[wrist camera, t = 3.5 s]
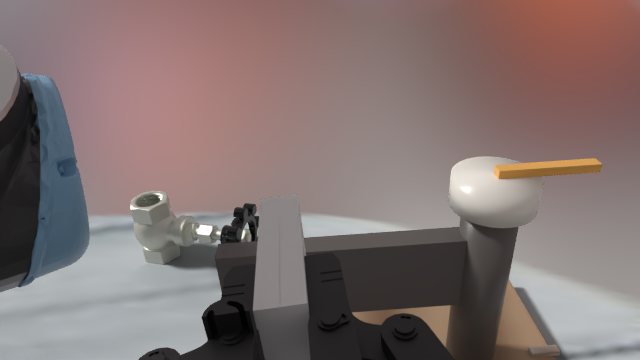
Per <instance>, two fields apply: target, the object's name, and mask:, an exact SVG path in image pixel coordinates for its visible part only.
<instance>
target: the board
mask: <svg viewBox="0 0 640 360" xmlns="http://www.w3.org/2000/svg"><path fill="white" fill-rule="evenodd" d="M400 313H406V314H413V315H415V316H418V317H420V318H421V319H422V320H424V321H425V322H426V323H427V324H428V326H429V327H430V328H431V330H432V331H433V332H434V333H435V335H436V336H437V337H438V338H439V340H440V341H441V342H442V344H443V345H444V346H445V347H446V338H447V330H448V321H449V313H450V305H448V306H434V307H420V308H407V309H393V310H379V311H365V312H352V314H353V315H354V316H355V317H356V318H358V319H359V320H361V321H363V322H366V323H371V324H378V325H382V323H383V322H384V321H385V320H386V318H388V317H390V316H392V315H395V314H400ZM560 352H561V351H560V350H559V348H558V346H557V345H547V343H546V342H545V340H544V338H543V336H542V335H541V333H540V331H539V330H538V328H537V326H536V325H535V323H534V321H533V320H532V318H531V316H530V314H529V313H528V311H527V309H526V308H525V306H524V304H523V303H522V301H521V299H520V298H519V296H518V294H517V292H516V291H515V289H514V287H513V286H512V284H511V282H510V281H509V279H508V284H507V289H506V294H505V299H504V304H503V310H502V315H501V320H500V325H499V330H498V335H497V341H496V346H495V351H494V356H493V360H556V359H555V357H554V356H557V355H560Z"/></svg>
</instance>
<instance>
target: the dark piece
mask: <svg viewBox="0 0 640 360" xmlns="http://www.w3.org/2000/svg"><path fill="white" fill-rule="evenodd" d="M601 167H602V164H601V163H600V162H599V161H598V160H596V159H595V158H593V159H578V160H563V161H550V162H534V163H521V162H519V161H515V160H512V159H507V158H501V157H489V156H488V157H487V156H486V157H474V158H469V159H466V160H463V161H460V162H459V163H457V164H456V165H455V166H454V167H453V168H452V170H451V179H450V190H449V199H448V202H449V205H450V207H451V209H452V210H453V211H454V212H455V213H456V214H457V215H458V216H460V217H461V219H460V227H452V228H438V229H424V230H410V231H395V232H381V233H367V234H353V235H338V236H324V237H310V238H304V242H305V249H306V256H308V255H315V254H323V253H330V252H332V253H333V254H334V255H335V256H336V257H337V258H338V259H339V260H340V264H341V269H342V273H343V279H344V283H345V288H346V293H347V298H348V302H349V307H350V310H351V312H365V311H379V310H393V309H407V308H420V307H434V306H448V305H450V313H449V321H448V330H447V338H446V349H447V350H448V351H449V353H450V354H451V355H452V356H453V358H454V359H455V360H493V356H494V351H495V346H496V341H497V335H498V330H499V325H500V320H501V315H502V310H503V304H504V299H505V294H506V289H507V284H508V278H509V273H510V268H511V263H512V258H513V252H514V247H515V242H516V237H517V232H518V227H519V226H522V225H525V224H527V223H529V222H531V221H532V220H533V219H534V218H535V217H536V215H537V212H538V207H539V203H540V198H541V193H542V189H543V179H542V176H553V175H567V174H582V173H596V172H600V170H601ZM257 242H258V241H253V242H239V243H224V244H218V248H217V252H216V257H215V261H216V266H217V271H218V276H219V280H220V285H221V290H223V284H224V278H225V276H226V274H227V273H228V272H229V270H230V269H231V268H232V267H234V266H241V265H248V264H256V257H257Z"/></svg>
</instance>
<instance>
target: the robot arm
mask: <svg viewBox="0 0 640 360" xmlns="http://www.w3.org/2000/svg"><path fill="white" fill-rule="evenodd" d="M76 162H77V160H76V156H75V152H74V145H73V141H72V136H71V132H70V128H69V124H68V120H67V116H66V113H65V109H64V106H63V103H62V99H61V96H60V93H59V91H58V88H57V86H56V84H55V82H54V81H53V80H52V79H51V78H50V77H48V76H44V75H33V74H30V73H29V74H28V73H26V74H24V75H20V72H19V70H18V67H17V65H16V63H15V61H14V59H13V58H12V57H11V55H10V54H9V52H8V51H7V50H6V49H5V48H4V46H2V45H1V44H0V292H2V291H5V290H9V289H12V288H15V287H22V286H26V285H28V284H30V283H31V282H32V281H33V280H34V279H35V278H38V277H40V276H43V275H45V274H48V273H51V272H53V271H56V270H58V269H61V268H63V267H66V266H69V265H71V264H73V263H75V262H76V261H77V260H78V259H80V258H81V257H82V255H83V254H84V253H85V251H86V249H87V247H88V244H89V237H90V235H89V222H88V214H87V208H86V202H85V196H84V191H83V187H82V182H81V177H80V173H79V170H78V168H77V167H76ZM202 320H203V324H204V327H205V331H206V334H207V338H208V342H207V343H205V344H204V345H202V346H201V347H199V348H197V349H195V350H193V351H190V352H188V353H185V354H183V355H180V354H179V353H178V352H177V351H176V350H175V349H171V348H158V349H155V350H153V351H150V352H148V353H146V354H145V355H143V356H142V357H141V358H139V360H455V359H454V358H453V356H452V355H451V354H450V353H449V351H448V350H447V349H446V347H445V346H444V345H443V344H442V342H441V341H440V340H439V338H438V337H437V336H436V335H435V333H434V332H433V331H432V330H431V328H430V327H429V326H428V324H427V323H426V322H425V321H424V320H422V319H421V318H420V317H418V316H415V315H413V314H406V313H400V314H395V315H392V316H390V317H388V318H386V320H385V321H384V322H383V323H382V325H378V324H371V323H366V322H363V321H361V320H359V319H358V318H356V317H355V316H354V315H353V314H352V312H351V310H350V307H349V302H348V298H347V293H346V288H345V283H344V279H343V273H342V269H341V264H340V260H339V259H338V258H337V257H336V256H335V255H334V254H333V253H332V252H330V253H323V254H315V255H308V256H306V249H305V242H304V235H303V228H302V221H301V214H300V207H299V200H298V194H294V195H286V196H278V197H270V198H263V199H260V213H259V227H258V242H257V257H256V264H248V265H241V266H234V267H232V268H231V269H230V270H229V272H228V273H227V274H226V276H225V278H224V284H223V290H222V298H221V300H219V301H217V302H215V303H213V304H212V305H210V306H209V307H208V308H207V309H206V310H205V311H204V313H203V316H202Z"/></svg>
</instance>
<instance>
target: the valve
mask: <svg viewBox="0 0 640 360" xmlns="http://www.w3.org/2000/svg"><path fill="white" fill-rule="evenodd" d="M131 212H132V215H133V219H134V222H135V223H134V233H135V236H136V238H137V240H138V242H139V243H140V244H141V245H142V246H143V252H144V255H145V259H146V262H148V263H154V264H166V263H168V262H169V261H171V260H173V259H175V258H177V257H178V256H180V246H184V247H189V246H190V245H192V244H193V242H194V241H196V240H197V239H199V242H203V243H215V242H216V241H217V240H220V241H221V244H224V243H239V242H253V241H258V237H257V229H258V227H259V216H254V215H255V214H256V205H255V204H247V203H245V204H244V206H243V208H240V207H236V208H235V210H234V217H236V218H235V219H234V220H233V221H232V223H231V226H229V225H225V226H224V227H223V228H222V230H218V227H217V225H209V224H203V225H200V226H199V224H198V223H196V220H195V218H194V217H192V216H180V217H179V218H176V216H175V215H174V213H173V212H172V211H171V210H170V203H169V199H168V195H167V193H165V192H161V191H149V192H145V193H142V194H140V195H138V196H136V197H135V198H133V199H132V201H131ZM247 222H248V225H249V229H244V227H245V225H246V223H247Z"/></svg>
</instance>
